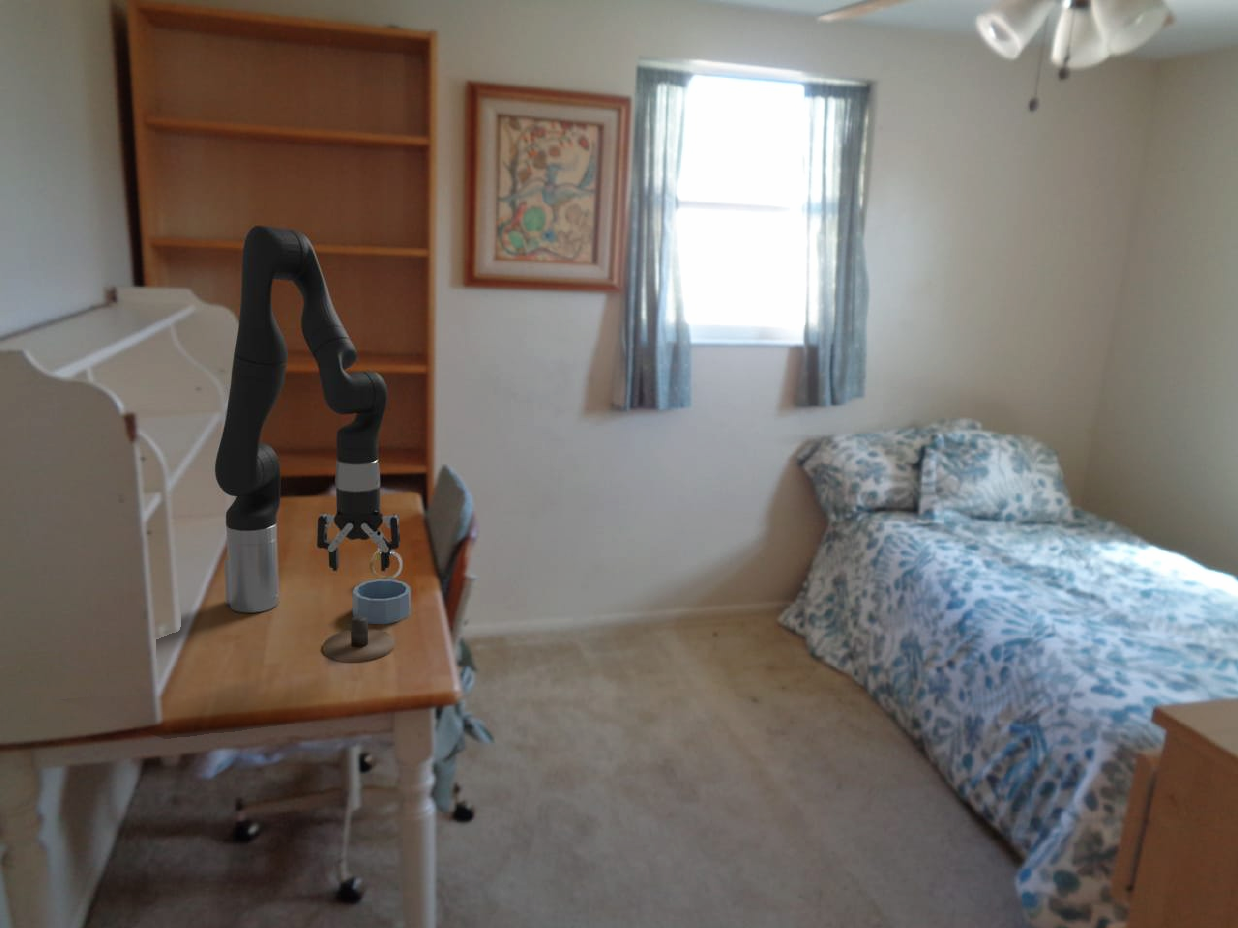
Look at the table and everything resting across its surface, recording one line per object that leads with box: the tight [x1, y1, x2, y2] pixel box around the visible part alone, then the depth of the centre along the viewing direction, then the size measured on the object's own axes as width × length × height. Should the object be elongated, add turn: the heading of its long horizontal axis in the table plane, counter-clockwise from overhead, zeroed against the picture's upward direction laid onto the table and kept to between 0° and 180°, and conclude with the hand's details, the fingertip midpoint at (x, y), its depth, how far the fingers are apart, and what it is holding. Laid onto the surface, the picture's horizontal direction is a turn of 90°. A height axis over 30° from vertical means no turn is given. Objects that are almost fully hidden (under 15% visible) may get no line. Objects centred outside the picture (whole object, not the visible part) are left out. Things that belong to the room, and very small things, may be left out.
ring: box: [369, 547, 404, 580], centre depth 190 cm, size 7×3×8 cm, turn 98°
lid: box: [322, 616, 397, 663], centre depth 160 cm, size 13×13×6 cm
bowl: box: [352, 578, 412, 625], centre depth 174 cm, size 11×11×5 cm
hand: (359, 569), depth 157 cm, fingers open, 8 cm apart
